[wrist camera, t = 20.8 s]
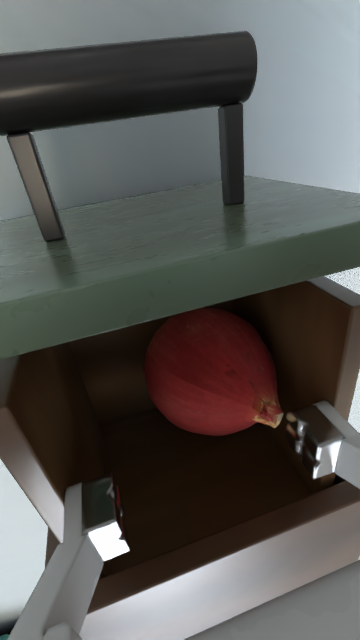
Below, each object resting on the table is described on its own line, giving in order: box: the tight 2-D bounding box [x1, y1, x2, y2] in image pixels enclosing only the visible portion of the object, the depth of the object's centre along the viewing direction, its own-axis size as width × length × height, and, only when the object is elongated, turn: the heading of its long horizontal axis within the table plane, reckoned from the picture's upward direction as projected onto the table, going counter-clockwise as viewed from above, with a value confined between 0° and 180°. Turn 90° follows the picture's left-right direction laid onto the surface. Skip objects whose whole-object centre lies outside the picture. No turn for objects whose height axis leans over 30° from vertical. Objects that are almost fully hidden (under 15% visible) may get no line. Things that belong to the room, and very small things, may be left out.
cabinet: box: [45, 474, 360, 640], centre depth 20 cm, size 15×14×12 cm
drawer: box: [0, 31, 360, 579], centre depth 13 cm, size 18×13×10 cm
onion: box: [143, 308, 284, 436], centre depth 14 cm, size 6×6×8 cm
